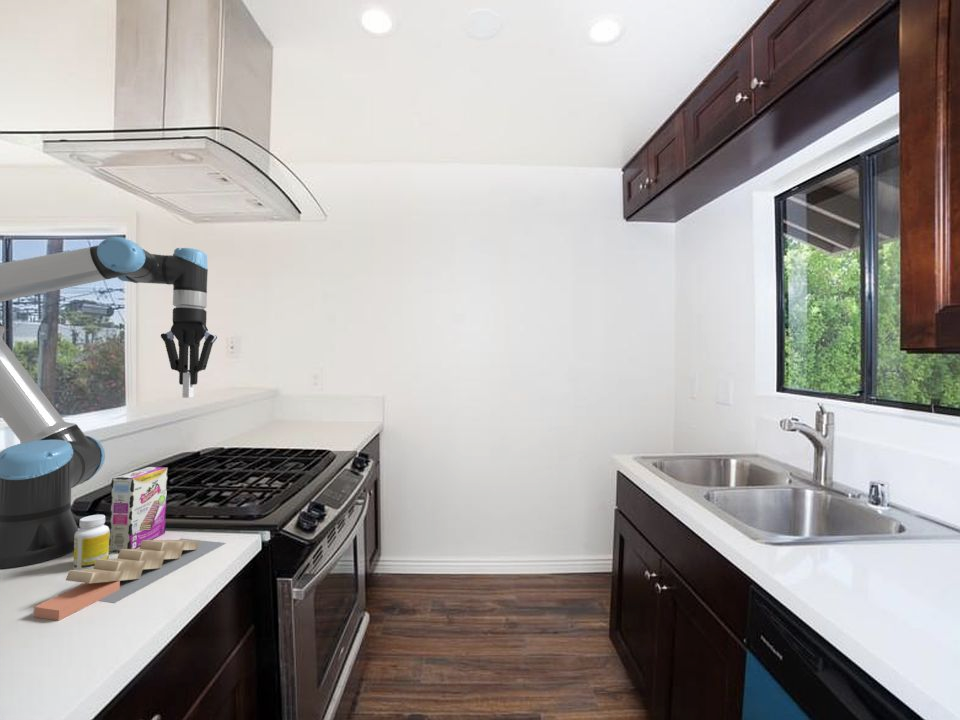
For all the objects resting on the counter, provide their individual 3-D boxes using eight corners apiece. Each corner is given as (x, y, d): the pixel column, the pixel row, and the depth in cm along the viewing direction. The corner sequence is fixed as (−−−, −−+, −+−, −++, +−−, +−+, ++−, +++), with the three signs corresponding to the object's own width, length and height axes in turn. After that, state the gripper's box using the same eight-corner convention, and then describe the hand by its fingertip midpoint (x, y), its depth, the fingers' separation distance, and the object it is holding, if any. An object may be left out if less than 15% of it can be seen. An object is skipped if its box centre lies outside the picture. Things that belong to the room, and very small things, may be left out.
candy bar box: (131, 553, 97) (132, 478, 97) (108, 553, 97) (109, 477, 97) (167, 533, 108) (168, 466, 108) (146, 533, 108) (148, 465, 108)
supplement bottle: (115, 560, 93) (116, 513, 93) (90, 572, 88) (91, 523, 88) (92, 558, 94) (93, 512, 94) (65, 570, 88) (66, 521, 88)
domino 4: (162, 548, 96) (120, 549, 86) (182, 550, 95) (142, 551, 86) (160, 556, 95) (117, 558, 86) (180, 558, 94) (139, 560, 85)
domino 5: (180, 539, 100) (142, 540, 91) (199, 541, 99) (163, 542, 90) (177, 547, 99) (139, 548, 90) (197, 549, 99) (160, 551, 89)
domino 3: (142, 557, 91) (96, 559, 82) (163, 559, 90) (119, 561, 81) (140, 565, 91) (93, 568, 81) (161, 568, 90) (115, 571, 80)
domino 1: (97, 577, 82) (34, 606, 72) (119, 580, 81) (59, 610, 71) (97, 586, 82) (33, 616, 72) (119, 589, 81) (58, 620, 71)
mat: (181, 539, 104) (181, 538, 104) (226, 544, 102) (226, 543, 102) (58, 596, 79) (58, 595, 79) (114, 604, 77) (114, 602, 77)
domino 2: (121, 566, 87) (69, 570, 77) (142, 569, 86) (92, 573, 77) (118, 575, 86) (65, 580, 77) (139, 578, 85) (89, 583, 76)
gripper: (222, 310, 123) (220, 396, 122) (170, 308, 120) (168, 395, 120) (210, 307, 115) (208, 398, 115) (154, 305, 113) (152, 398, 113)
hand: (188, 397), depth 118 cm, fingers closed
